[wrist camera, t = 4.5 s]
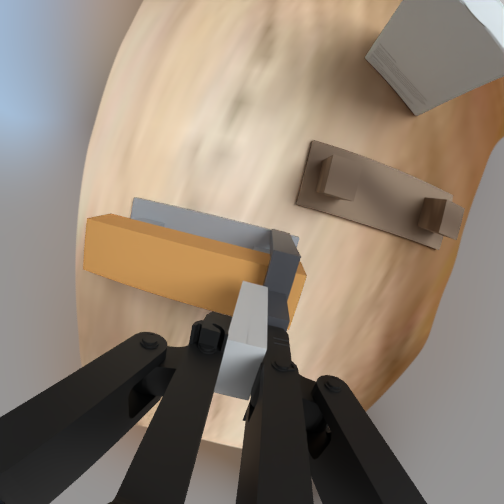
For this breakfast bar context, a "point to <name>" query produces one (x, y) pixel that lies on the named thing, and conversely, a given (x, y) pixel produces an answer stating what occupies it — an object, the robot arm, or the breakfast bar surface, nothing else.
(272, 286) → the grey gate frame
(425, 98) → the skincare box
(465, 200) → the breakfast bar surface
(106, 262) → the orange tapered block
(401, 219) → the rest
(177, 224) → the clip mount
